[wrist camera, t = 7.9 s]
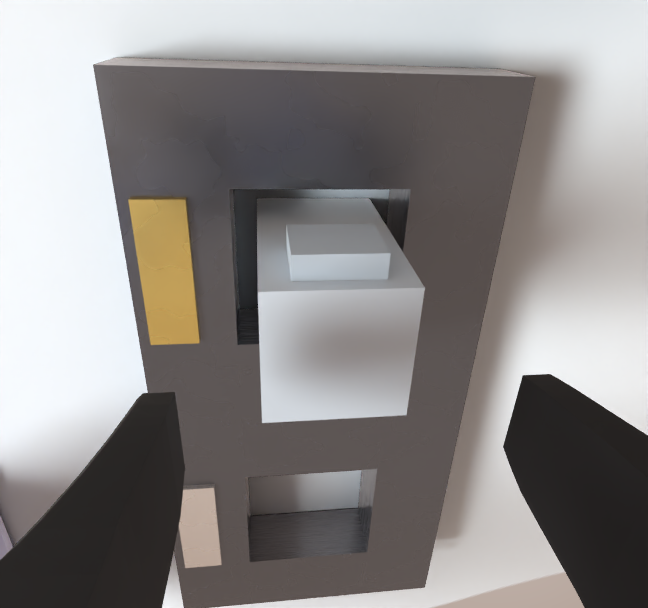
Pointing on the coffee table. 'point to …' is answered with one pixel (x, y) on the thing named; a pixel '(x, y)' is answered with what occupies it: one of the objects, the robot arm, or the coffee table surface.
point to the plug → (333, 311)
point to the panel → (243, 324)
